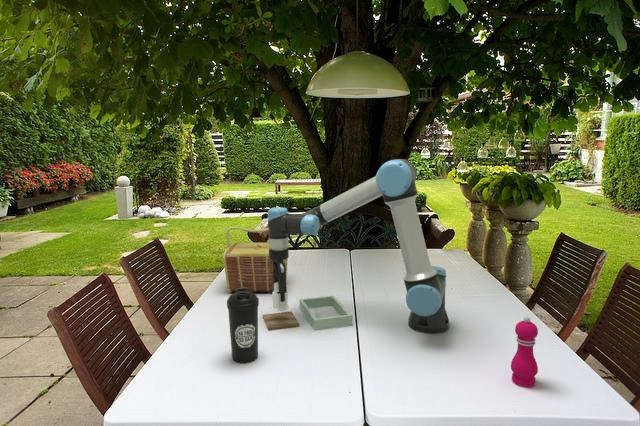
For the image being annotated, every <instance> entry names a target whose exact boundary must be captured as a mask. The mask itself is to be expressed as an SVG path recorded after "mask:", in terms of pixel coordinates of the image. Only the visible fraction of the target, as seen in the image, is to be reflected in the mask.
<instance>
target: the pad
mask: <svg viewBox="0 0 640 426" xmlns="http://www.w3.org/2000/svg"><path fill="white" fill-rule="evenodd" d="M262 319H263V321H264V323H265V325H266V328H267V330H268V331H277V330H284V329H292V328H299V327H301V326H300V322H299V321H298V319H297V318H296V316H295V314H294V313H293V311H281V312H276V313H266V314H262Z"/></svg>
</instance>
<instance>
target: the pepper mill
mask: <svg viewBox="0 0 640 426" xmlns="http://www.w3.org/2000/svg"><path fill="white" fill-rule="evenodd" d="M514 332H515V335H516V337H515V338H516V343H517V349H516V352H515V354H514V356H513V358H512V360H511V362H510V369H511V371H512V375H511V381H512V383H513V384H515V385H516V386H520V387H522V388H531V387H532V388H533V387H534V386H535V385H536V377H535V376H536V375H537V374H538V373H539V367H538V363H537V361H536V358H535V355H534V346H535V345H536V338H537V336H538V334H539V329H538V327H537V325H536V324H535V323H534V322H532V321H531V318H530V316H524V318H523V320H521V321H519V322H517V323H516V324H515V328H514Z"/></svg>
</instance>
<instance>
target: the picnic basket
mask: <svg viewBox="0 0 640 426" xmlns="http://www.w3.org/2000/svg"><path fill="white" fill-rule="evenodd" d="M231 230H242V231H244V232H246V233H247V232H248V233H256V234H257V233H265V232H268V227H266V228H258V229H257V228H255V229H254V228H249V227H248V228H247V227H241V226H234V227H233V226H231V227H229V228H227V229H226V232H225V234H226V241H227V242H226V243H227V248H226V249H225V251H224V252H223V253H222V254H223V255H222V259H223V260H222V261H223V265H224V274H225V279H226V285H227V290H228V293H230V294H231V293H236V288H241V287H247V289H248V291H249V292H252V293H257V292H260V293H263V292H266V293H267V292H269V293H270V292H271V293H272V292H273V291H274V282H273V260H272V259H270V258H269V249H270V248H269V243H267V241H266V242H264V241H262V242H259V241H258V242H235V241H233V242H232V243H231V240H230V239H231V238H230V231H231ZM288 258H289V257H288ZM288 258H287V259H284V260H283V262H284V263H285V267H286V279H287V277H288V276H287V275H288V274H287V273H288Z"/></svg>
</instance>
